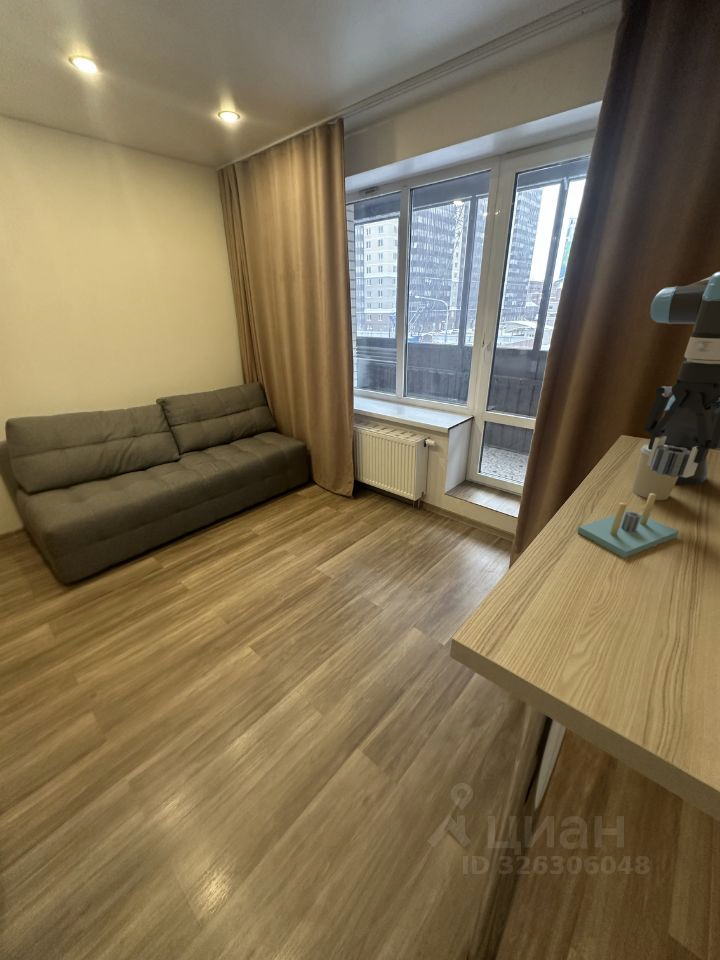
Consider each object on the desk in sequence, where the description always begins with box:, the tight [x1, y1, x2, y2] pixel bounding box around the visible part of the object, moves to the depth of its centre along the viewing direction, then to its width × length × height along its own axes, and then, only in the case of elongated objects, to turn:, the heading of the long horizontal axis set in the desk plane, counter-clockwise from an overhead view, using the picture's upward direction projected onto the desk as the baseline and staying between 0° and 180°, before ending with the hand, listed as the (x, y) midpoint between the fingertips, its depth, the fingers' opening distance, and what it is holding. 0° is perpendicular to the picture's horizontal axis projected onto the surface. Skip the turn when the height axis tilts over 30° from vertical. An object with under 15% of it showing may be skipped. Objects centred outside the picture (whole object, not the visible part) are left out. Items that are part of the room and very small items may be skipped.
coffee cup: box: [631, 443, 679, 501], centre depth 94 cm, size 9×9×12 cm
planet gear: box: [650, 445, 691, 477], centre depth 81 cm, size 6×6×5 cm
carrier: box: [577, 493, 680, 559], centre depth 77 cm, size 17×10×8 cm, turn 114°
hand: (669, 469), depth 82 cm, fingers closed on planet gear, 6 cm apart
